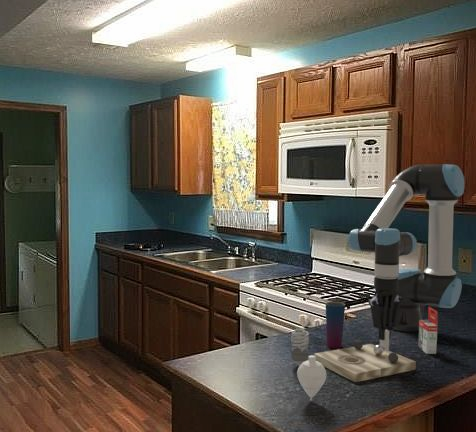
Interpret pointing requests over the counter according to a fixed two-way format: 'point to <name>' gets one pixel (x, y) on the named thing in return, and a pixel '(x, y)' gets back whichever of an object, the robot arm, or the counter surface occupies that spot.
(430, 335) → the ink box
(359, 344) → the black rubber ball
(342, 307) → the cup
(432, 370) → the counter surface
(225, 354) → the counter surface
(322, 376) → the spinning top
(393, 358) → the black rubber ball
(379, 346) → the steel ball
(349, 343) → the counter surface
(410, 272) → the robot arm
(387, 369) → the board
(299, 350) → the light bulb
